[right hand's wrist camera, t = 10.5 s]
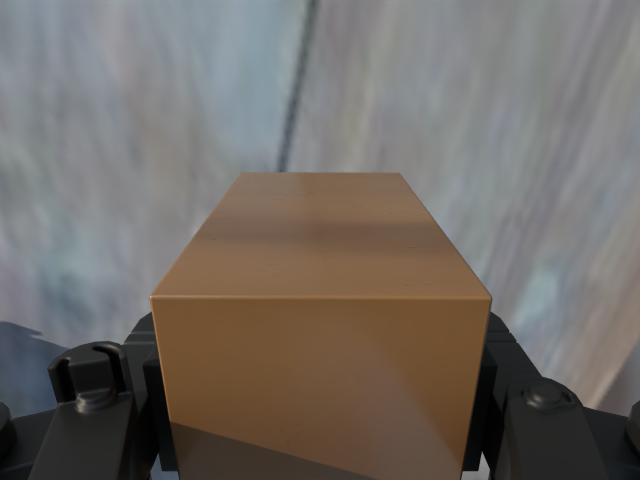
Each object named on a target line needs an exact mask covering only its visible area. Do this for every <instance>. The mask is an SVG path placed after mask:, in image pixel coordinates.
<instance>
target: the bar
mask: <svg viewBox="0 0 640 480" xmlns="http://www.w3.org/2000/svg"><path fill="white" fill-rule="evenodd" d="M150 304H151V310H152V316H153V322H154V328H155V334H156V340H157V346H158V352H159V359H160V365H161V371H162V377H163V383H164V389H165V395H166V401H167V407H168V414H169V420H170V426H171V432H172V438H173V444H174V450H175V456H176V462H177V469H178V475H179V480H461V478H462V472H463V466H464V460H465V455H466V449H467V443H468V437H469V432H470V426H471V420H472V414H473V409H474V403H475V397H476V391H477V385H478V380H479V374H480V368H481V362H482V357H483V351H484V345H485V339H486V333H487V328H488V322H489V316H490V310H491V305H492V296H491V294H490V293H489V292H488V290H487V289H486V288H485V286H484V285H483V284H482V282H481V281H480V280H479V278H478V277H477V276H476V274H475V273H474V272H473V270H472V269H471V268H470V266H469V265H468V264H467V262H466V261H465V260H464V258H463V257H462V256H461V254H460V253H459V252H458V250H457V249H456V248H455V246H454V245H453V244H452V242H451V241H450V240H449V238H448V237H447V236H446V234H445V233H444V232H443V230H442V229H441V228H440V226H439V225H438V224H437V222H436V221H435V220H434V218H433V217H432V216H431V214H430V213H429V212H428V210H427V209H426V208H425V206H424V205H423V204H422V202H421V201H420V200H419V198H418V197H417V196H416V194H415V193H414V192H413V190H412V189H411V188H410V186H409V185H408V184H407V182H406V181H405V180H404V178H403V177H402V176H401V174H400V173H276V172H242V173H241V174H240V175H239V176H238V178H237V179H236V180H235V182H234V183H233V184H232V186H231V187H230V189H229V190H228V191H227V193H226V194H225V195H224V197H223V198H222V199H221V201H220V202H219V203H218V205H217V206H216V207H215V209H214V210H213V211H212V213H211V214H210V215H209V217H208V218H207V219H206V221H205V222H204V224H203V225H202V226H201V228H200V229H199V230H198V232H197V233H196V234H195V236H194V237H193V238H192V240H191V241H190V242H189V244H188V245H187V246H186V248H185V249H184V250H183V252H182V253H181V255H180V256H179V257H178V259H177V260H176V261H175V263H174V264H173V265H172V267H171V268H170V269H169V271H168V272H167V273H166V275H165V276H164V277H163V279H162V280H161V281H160V283H159V284H158V286H157V287H156V288H155V290H154V291H153V292H152V294H151V295H150Z"/></svg>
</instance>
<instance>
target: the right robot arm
mask: <svg viewBox="0 0 640 480" xmlns="http://www.w3.org/2000/svg"><path fill="white" fill-rule="evenodd" d="M47 369H48V372H49V376H50V379H51V383H52V386H53V389H54V393H55V396H56V400H57V403H58V406H57V408H56V409H53V410H49V411H46V412H41V413H37V414H32V415H28V416H23V417H19V418H14V419H12V416H11V413H10V410H9V408H8V407H7V406H6V405H4V404H3V403H1V402H0V480H152V477H151V472H150V471H151V469H152V467H153V464H154V462H155V459H156V457H157V455H158V452H159V457H160V463H161V468H162V471H178V469H177V462H176V456H175V450H174V444H173V438H172V432H171V426H170V420H169V414H168V407H167V401H166V395H165V389H164V383H163V377H162V371H161V365H160V359H159V352H158V346H157V340H156V334H155V328H154V322H153V316H152V312H150V313H149V314H147V315H146V316H144V317H143V318H142V319H140V320H139V322H138V323H137V325H136V326H135V327H134V329H133V330H132V332H131V334H130V335H129V336H128V337H127V339H126V340H125V342H124V345H122V346H121V345H120V344H118V343H114V342H110V341H102V342H92V343H88V344H84V345H80V346H78V347H75V348H73V349H71V350H68V351H66V352H65V353H63V354H62V355H60V356H59V357H57V358H56V359H55V360H54V361H53V362H52V363H51V365H50V366H49V367H48V368H47ZM482 452H483V454H484V457H485V459H486V461H487V464H488V466H489V468H490V472H489V477H488V480H640V401H638V402H637V403H636V404H634V405H633V406H632V409H631V412H630V414H629V417H625V416H620V415H616V414H611V413H607V412H603V411H598V410H594V409H590V408H587V407H583V405H582V403H581V402H580V400H579V399H578V397H577V396H576V394H574V393H573V392H572V391H571V390H569V389H568V388H567V387H566V386H564V385H562V384H560V383H558V382H556V381H554V380H552V379H549V378H545V377H542V376H541V374H540V373H539V372H538V370H537V369H536V367H535V366H534V365H533V363H532V362H531V360H530V359H529V358H528V356H527V355H526V353H525V352H524V350H523V349H522V348H521V346H520V345H519V343H516V339H515V338H514V336H513V335H512V334H511V333H509V329H508V328H507V327H506V325H505V324H504V322H503V321H502V320H501V318H499V317H498V316H497V315H495V314H494V313H492V312H491V311H490V316H489V322H488V328H487V333H486V339H485V345H484V351H483V357H482V362H481V368H480V374H479V380H478V385H477V391H476V397H475V403H474V409H473V414H472V420H471V426H470V432H469V437H468V443H467V449H466V455H465V460H464V466H463V471H478V470H479V464H480V459H481V454H482Z"/></svg>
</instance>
